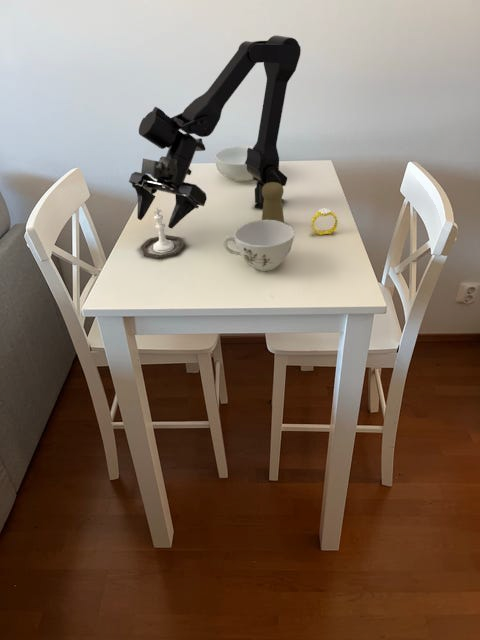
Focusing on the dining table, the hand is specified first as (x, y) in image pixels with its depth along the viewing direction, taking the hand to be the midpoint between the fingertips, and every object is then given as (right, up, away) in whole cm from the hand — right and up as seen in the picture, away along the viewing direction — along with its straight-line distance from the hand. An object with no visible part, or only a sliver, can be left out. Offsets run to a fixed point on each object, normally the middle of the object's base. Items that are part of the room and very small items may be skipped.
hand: (154, 223), depth 106 cm
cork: (+28, +1, +11) cm, 30 cm away
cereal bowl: (+20, +22, +38) cm, 49 cm away
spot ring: (+1, -5, +5) cm, 7 cm away
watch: (+40, -1, +7) cm, 40 cm away
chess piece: (+1, -5, +5) cm, 7 cm away
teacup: (+24, -10, -3) cm, 26 cm away
